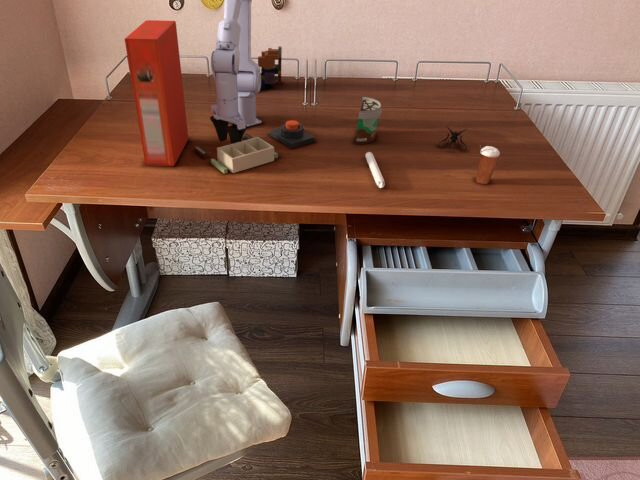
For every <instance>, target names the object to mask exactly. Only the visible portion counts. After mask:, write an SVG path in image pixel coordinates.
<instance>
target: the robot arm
mask: <svg viewBox="0 0 640 480" xmlns="http://www.w3.org/2000/svg"><path fill="white" fill-rule="evenodd" d="M252 1H253V0H224V8H223V19H222V20H221V21H219V23H218V27H217V35H216V43H215V49H214V50H212V52H211V54H210V55H211V56H210V67H211V72H212V77H213V81H214V83H215V85H214V86H215V100H216V102H215V103H216V104H212V105H211V107H210V108H211V114H213V115H211V116H210V117H209V119H210V121H211V122H212V124H213V126H214V127H213V128H214V129H215V132H216V135H217V138H218V141H219V142H220V143H221V142H226V141H227V140H228V137H229V141H230V142H229V143H230V144H233V143H237V142H241V141H243V138H244V134H246V133H245V132H246V131H247V130H248V127H252V126H256V125H259V124H262V123H263V121H262V120H260V119H259V118H258V117H257V94H258V93H259V92H260V91H261V90H260V88H261V74H260V73H261V67H260V66H259V65H258V62H256V61H255V60H253V58H252ZM229 123H230V124H231V125H229Z"/></svg>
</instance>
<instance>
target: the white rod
mask: <svg viewBox="0 0 640 480" xmlns="http://www.w3.org/2000/svg"><path fill="white" fill-rule="evenodd" d="M364 156H365V160H366V162H367V165H368V167H369V170H370V172H371V175H372V176H373V179H374V182H375V185H376V186H377V187H378V188H379V189H383V188H384V187H385V185H386V182H385V179H384V177H383V175H382V172H381V170H380V167H379V165H378V163H377V160H376V157H375V156H374V154H373V152H372V151H367V152H366V153H365V155H364Z"/></svg>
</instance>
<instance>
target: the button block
mask: <svg viewBox="0 0 640 480" xmlns="http://www.w3.org/2000/svg"><path fill="white" fill-rule="evenodd" d="M304 130H305V128H304V126H303V125H302V124H300V123H298V129H297V130H287V129H286V123H283V124H281V126H280V127H278V128H274V129H271V130H269V136H270V137H272V138H274V139H275V140H277V141H279V142H280V143H282V144H283V145H285V146H287V147H288V148H290V149H296V148H298V147H302V146H305V145H309V144H312V143H315V136H313V135H311V134H309V132H306V131H304Z"/></svg>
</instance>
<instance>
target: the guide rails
mask: <svg viewBox="0 0 640 480" xmlns="http://www.w3.org/2000/svg"><path fill="white" fill-rule="evenodd" d="M252 138H254V137H253V136H252V135H249V134H248V133H244V135H243V139H245V140H248V139H252ZM194 152H195V153H197V154H198V155H199V156H200V157H202V158H203V159H205V158H207V157H208V154H207V152H206V151H204V150H203V149H202V148H200V147H199V146H195V147H194ZM278 158H279V153H277V152H276V151H275V150H274V159H278ZM210 164H211V165H212V166H214V168H216V169H217V170H219V171H220V172H222V173H223V174H224V175H225V174H228V169H227V168H226V167H224V166H223V165H222V164H220V163H219V162H218V160H216V159H215V158H211V159H210Z"/></svg>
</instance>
